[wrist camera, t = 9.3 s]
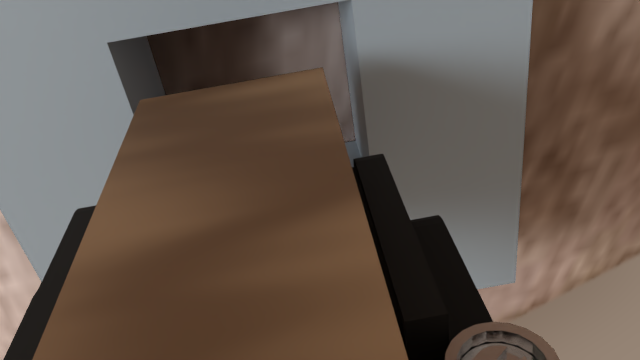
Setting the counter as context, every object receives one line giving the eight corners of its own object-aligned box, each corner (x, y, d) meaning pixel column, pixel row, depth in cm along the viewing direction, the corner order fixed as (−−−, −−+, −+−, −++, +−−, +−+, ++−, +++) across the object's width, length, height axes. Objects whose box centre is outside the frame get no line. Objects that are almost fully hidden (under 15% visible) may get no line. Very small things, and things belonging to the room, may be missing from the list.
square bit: (322, 67, 12) (486, 622, 4) (344, 214, 14) (479, 775, 6) (139, 99, 12) (-125, 738, 4) (190, 242, 14) (99, 847, 6)
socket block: (484, -247, 13) (549, -270, 10) (478, 218, 21) (515, 282, 18) (-98, -145, 13) (-199, -137, 10) (110, 283, 21) (86, 359, 18)
